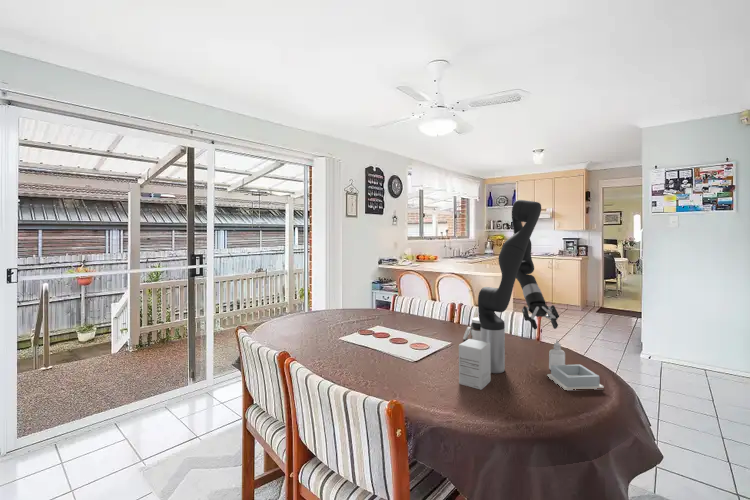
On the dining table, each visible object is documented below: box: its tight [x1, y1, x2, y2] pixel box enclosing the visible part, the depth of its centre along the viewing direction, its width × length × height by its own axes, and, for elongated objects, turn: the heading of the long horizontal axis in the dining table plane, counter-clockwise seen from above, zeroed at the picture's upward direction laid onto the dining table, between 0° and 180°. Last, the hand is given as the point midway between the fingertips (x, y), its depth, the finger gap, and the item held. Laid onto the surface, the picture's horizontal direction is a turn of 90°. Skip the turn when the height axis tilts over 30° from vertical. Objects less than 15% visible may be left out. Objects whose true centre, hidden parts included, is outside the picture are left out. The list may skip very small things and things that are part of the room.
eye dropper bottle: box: [548, 340, 566, 371], centre depth 147 cm, size 4×6×12 cm
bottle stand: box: [546, 363, 605, 391], centre depth 135 cm, size 14×12×4 cm
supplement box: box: [458, 338, 492, 391], centre depth 136 cm, size 9×9×15 cm
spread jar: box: [463, 316, 481, 341], centre depth 185 cm, size 12×11×12 cm
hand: (545, 328), depth 155 cm, fingers open, 8 cm apart
